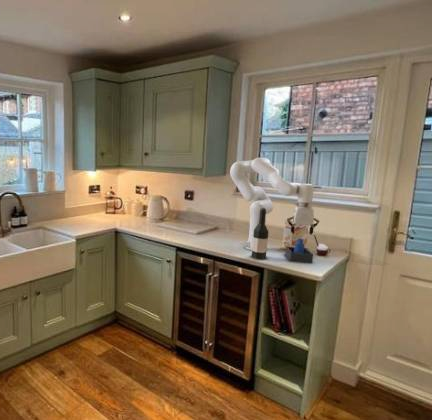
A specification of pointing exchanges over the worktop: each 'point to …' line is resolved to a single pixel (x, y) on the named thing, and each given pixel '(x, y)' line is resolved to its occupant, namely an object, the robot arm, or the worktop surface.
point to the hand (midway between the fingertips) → (301, 233)
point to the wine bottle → (260, 238)
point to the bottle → (299, 246)
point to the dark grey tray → (299, 255)
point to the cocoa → (321, 248)
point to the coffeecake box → (291, 238)
